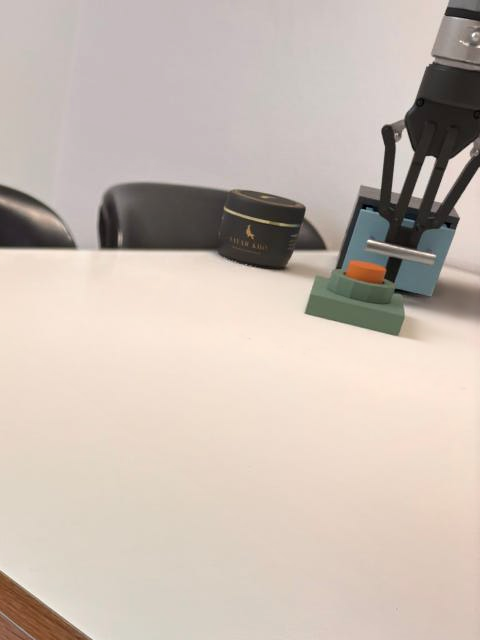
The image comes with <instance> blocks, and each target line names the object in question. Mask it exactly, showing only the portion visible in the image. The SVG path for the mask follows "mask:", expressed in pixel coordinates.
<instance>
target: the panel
mask: <svg viewBox="0 0 480 640" xmlns="http://www.w3.org/2000/svg"><path fill="white" fill-rule="evenodd" d="M346 272H347V270H345V269H335V268H333V269H332V271H331V273H330V277H326V276H321V275H318V274H317V275H315V278H314V280H313V284H312V286H311V290H310V293H309V296H308V300H307V303H306V307H305V310H304V314H305V315H309V316H312V317H317V318H322V319H324V320H329V321H333V322H338V323H340V324H341V323H342V324H346V325H349V326H354V327H358V328H362V329H366V330H370V331H375V332H379V333H383V334H386V335H391V336H395V337H399V335H400V332H401V329H402V326H403V323H404V320H405V317H406V314H405V305H404V298H403V297H404V296H403V295H401V294H399V293H398V294H397V293H395V290H396V288H395V284H394V283H392V282H390V281H388V280H386V279H383V282H382V284H374V283H368V282H363V281H359V280H356V279H353V278H350V277H347V276H346Z"/></svg>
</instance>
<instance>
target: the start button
mask: <svg viewBox="0 0 480 640" xmlns="http://www.w3.org/2000/svg"><path fill="white" fill-rule="evenodd" d="M385 273H386V269H385V268H384V267H381V266H379V265H376V264H372V263H368V262H363V261H356V260H352V261H350V262H349V265H348V268H347V272H346V276H347V277H350V278H353V279H356V280H359V281H363V282H368V283H374V284H382V282H383V279H384V276H385Z"/></svg>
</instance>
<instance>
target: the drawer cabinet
mask: <svg viewBox="0 0 480 640" xmlns="http://www.w3.org/2000/svg"><path fill="white" fill-rule="evenodd" d="M380 192H381V188H377V187H371V186H368V185H363V184H360V186H359V189H358V192H357V195H356V198H355V201H354V205H353V207H352V210H351V214H350V216H349V220H348V222H347V223H348V224H347V226H346V229H345V232H344V235H343V239H342V242H341V244H340V247H339V251H338V254H337V258H336V263H335V268H334V269H342V266H343V263H344V260H345V257H346V254H347V251H348V247H349V244H350V241H351V238H352V235H353V232H354V229H355V226H356V223H357V220H358V217H359V214H360V211H361V209H363V210H364V209H365V206H366V204H367V205H372V206H376V207H379V202H380ZM400 193H401V192H394V191H392V192H391V202H390V207H391V208H392V209H393V210H395V208H396V205H397V202H398V199H399V196H400ZM422 198H423V197H417V196H413V195H412V197H411V200H410V202H409V205H408V208H407V211H406V213H408V214H412V215H417V212H418V210H419V207H420V204H421V201H422ZM441 204H442V201H441V202H439V201H435V200H434V203H433V206H432V209H431V211H430V214H429V217H433V216H434V215H435V213H436V211H437V210H438V208H439V207H440V205H441ZM460 219H461V217H460V216H459V214H458V211H457V210H456V207H454V208H453V209H452V211H451V213H450V214H449V216H448V217H447V219H446V220H445V224H446V226H447V228H449V229H453V230H455V231H457V228H458V225H459V222H460Z"/></svg>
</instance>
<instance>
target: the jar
mask: <svg viewBox="0 0 480 640" xmlns="http://www.w3.org/2000/svg"><path fill="white" fill-rule="evenodd" d="M306 211H307V207H306V205H304V204H303V203H301V202H299V201H297V200H294V199H291V198H288V197H284V196H280V195H276V194H272V193H267V192H262V191H257V190H252V189H242V188H240V189H239V188H235V189H231V190H229V192H228V194H227V197H226V200H225V204H224V205H223V213H222V217H221V221H220V223H219V224H220V226H219V228H218V232H217V235H216V251H217V252H218V255H219V254H220V255H221V256H220V255H219V256H220V257H222V258H224V257H225V258H224V259H226V258H227V259H226V260H229V259H230V260H229V261H231V260H233V261H232V262H234V261H236V262H235V263H237V262H239V263H238V264H241V263H243V264H242V265H245V264H247V265H246V266H249V265H252V266H251V267H254V266H256V267H255V268H259V267H260V268H259V269H266V268H267V270H281V269H283V268H284V267H286V266H287V265H288V263H289V262H290V260H291V258H292V257H293V254H294V251H295V248H296V245H297V241H298V237H299V235H300V231H301V228H302V227H303V224H304V219H305V215H306Z"/></svg>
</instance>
